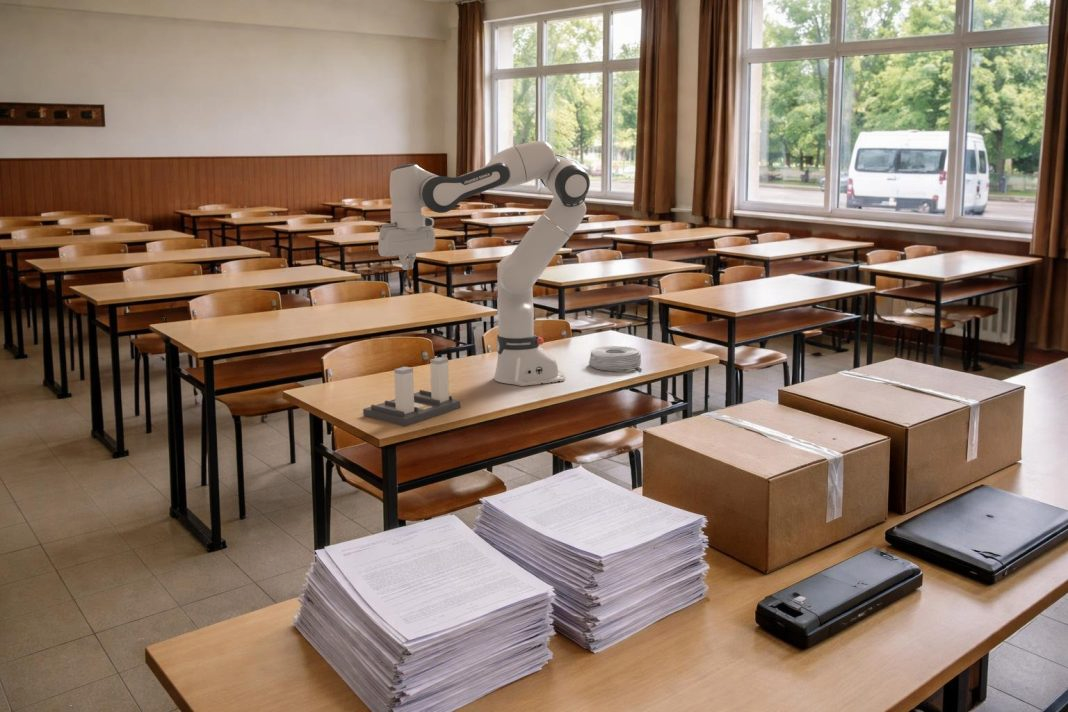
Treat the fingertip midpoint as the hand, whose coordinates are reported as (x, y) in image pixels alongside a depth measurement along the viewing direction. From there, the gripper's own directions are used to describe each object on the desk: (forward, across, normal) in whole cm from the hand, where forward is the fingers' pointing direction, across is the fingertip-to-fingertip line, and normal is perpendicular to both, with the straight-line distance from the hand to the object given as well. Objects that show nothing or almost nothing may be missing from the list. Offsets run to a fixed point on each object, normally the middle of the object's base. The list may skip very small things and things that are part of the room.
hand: (407, 269), depth 272 cm
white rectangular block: (+35, -22, -19) cm, 45 cm away
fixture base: (+37, -15, -15) cm, 43 cm away
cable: (+38, +64, -32) cm, 81 cm away
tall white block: (+35, -8, -19) cm, 40 cm away
